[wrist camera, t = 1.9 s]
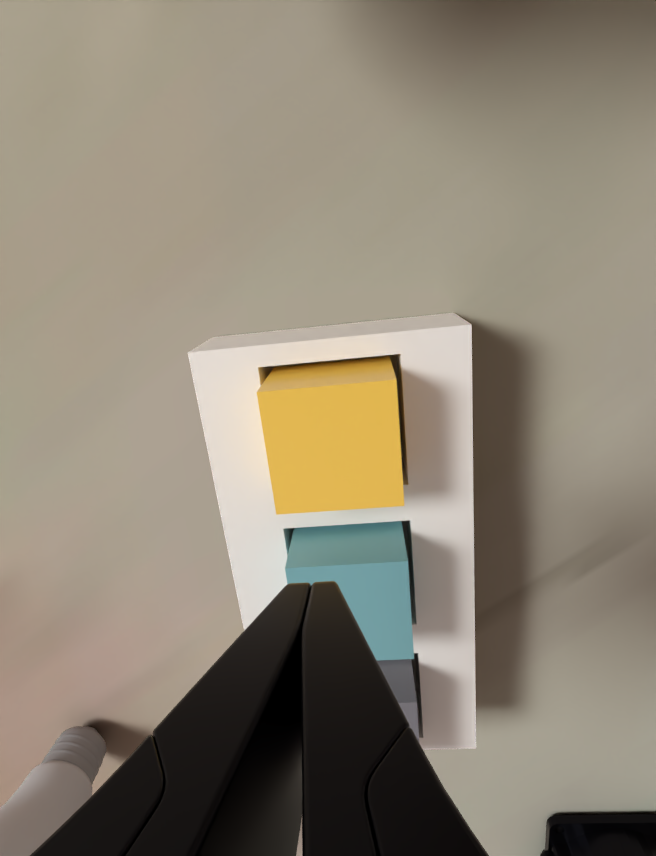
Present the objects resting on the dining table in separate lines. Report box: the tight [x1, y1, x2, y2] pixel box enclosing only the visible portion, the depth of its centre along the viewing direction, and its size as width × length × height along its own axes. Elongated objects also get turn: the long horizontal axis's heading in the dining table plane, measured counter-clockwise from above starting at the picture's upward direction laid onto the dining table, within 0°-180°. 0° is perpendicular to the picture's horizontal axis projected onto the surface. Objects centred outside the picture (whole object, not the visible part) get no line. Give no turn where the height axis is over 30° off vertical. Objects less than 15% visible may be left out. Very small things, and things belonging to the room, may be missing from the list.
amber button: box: [257, 356, 404, 515], centre depth 16 cm, size 4×4×3 cm
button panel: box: [188, 313, 476, 750], centre depth 20 cm, size 9×18×3 cm, turn 6°
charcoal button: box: [377, 659, 419, 742], centre depth 20 cm, size 4×4×3 cm
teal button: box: [285, 521, 414, 660], centre depth 18 cm, size 4×4×3 cm
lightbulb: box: [0, 726, 106, 856], centre depth 21 cm, size 6×6×11 cm
